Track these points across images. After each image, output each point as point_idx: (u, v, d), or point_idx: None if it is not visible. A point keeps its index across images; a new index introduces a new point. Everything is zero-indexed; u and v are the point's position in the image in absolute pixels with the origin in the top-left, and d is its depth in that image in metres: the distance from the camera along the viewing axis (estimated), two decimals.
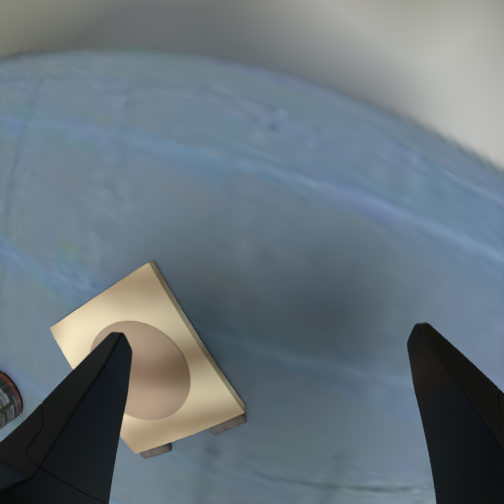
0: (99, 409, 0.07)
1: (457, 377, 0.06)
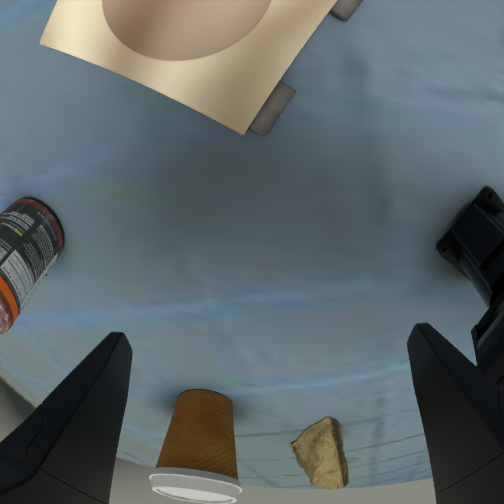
0: (99, 409, 0.07)
1: (457, 377, 0.06)
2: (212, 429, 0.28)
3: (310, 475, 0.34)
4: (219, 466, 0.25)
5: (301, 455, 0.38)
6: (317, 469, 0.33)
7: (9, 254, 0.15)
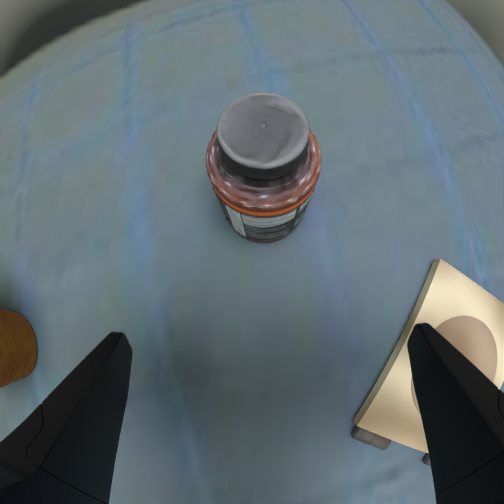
0: (99, 409, 0.07)
1: (457, 377, 0.06)
2: (4, 373, 0.17)
3: None
4: None
5: None
6: None
7: (295, 214, 0.18)
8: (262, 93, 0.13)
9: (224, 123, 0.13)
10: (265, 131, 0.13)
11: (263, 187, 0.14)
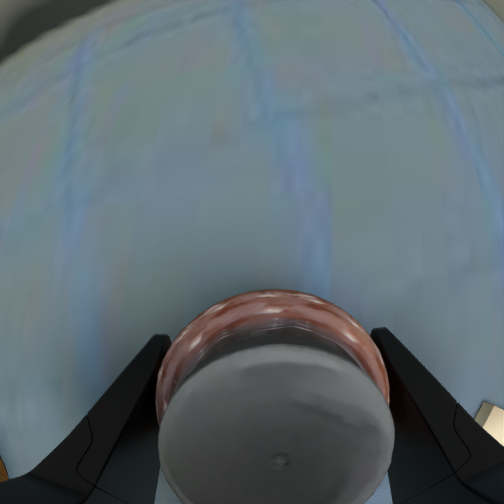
0: (148, 416, 0.07)
1: (409, 387, 0.06)
2: None
3: None
4: None
5: None
6: None
7: None
8: (280, 353, 0.04)
9: (173, 447, 0.04)
10: (282, 476, 0.04)
11: None
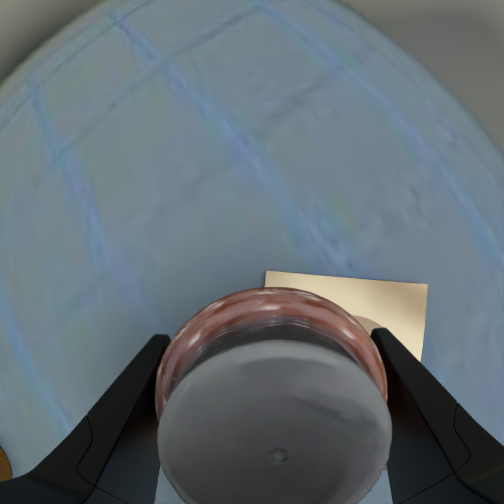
0: (148, 416, 0.07)
1: (409, 387, 0.06)
2: None
3: None
4: None
5: None
6: None
7: None
8: (278, 349, 0.05)
9: (173, 442, 0.04)
10: (281, 471, 0.04)
11: None
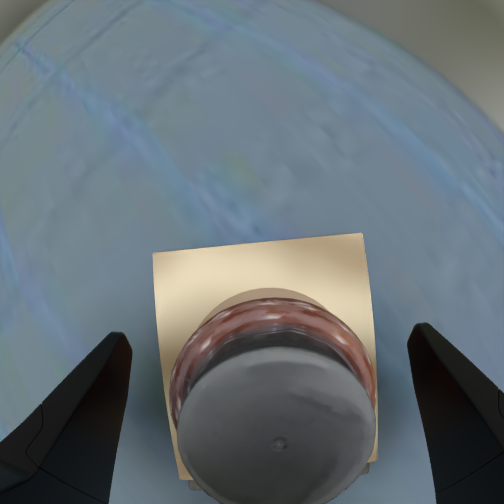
0: (99, 409, 0.07)
1: (457, 377, 0.06)
2: None
3: None
4: None
5: None
6: None
7: None
8: (279, 354, 0.05)
9: (190, 433, 0.05)
10: (282, 457, 0.05)
11: None
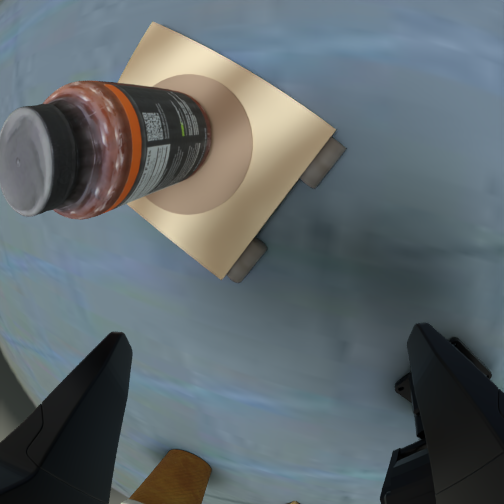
0: (99, 409, 0.07)
1: (457, 377, 0.06)
2: (184, 484, 0.29)
3: None
4: None
5: None
6: None
7: (163, 143, 0.13)
8: None
9: (6, 195, 0.09)
10: (22, 165, 0.08)
11: (85, 188, 0.10)
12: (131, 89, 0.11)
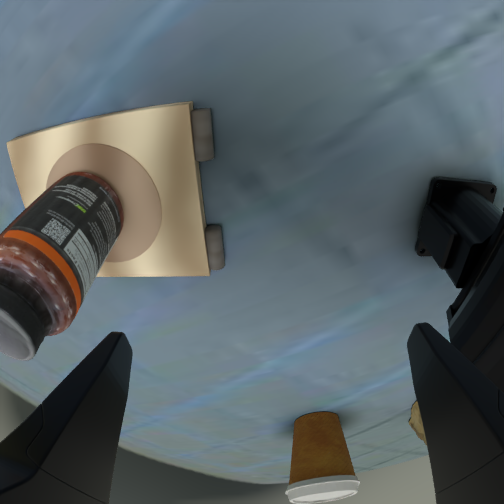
0: (99, 409, 0.07)
1: (457, 377, 0.06)
2: (321, 442, 0.33)
3: None
4: (332, 470, 0.30)
5: (418, 429, 0.39)
6: None
7: (73, 234, 0.14)
8: None
9: (11, 356, 0.11)
10: (2, 333, 0.10)
11: (48, 311, 0.12)
12: (23, 219, 0.12)
